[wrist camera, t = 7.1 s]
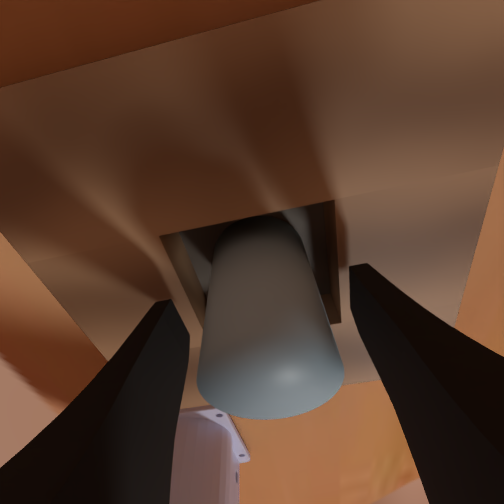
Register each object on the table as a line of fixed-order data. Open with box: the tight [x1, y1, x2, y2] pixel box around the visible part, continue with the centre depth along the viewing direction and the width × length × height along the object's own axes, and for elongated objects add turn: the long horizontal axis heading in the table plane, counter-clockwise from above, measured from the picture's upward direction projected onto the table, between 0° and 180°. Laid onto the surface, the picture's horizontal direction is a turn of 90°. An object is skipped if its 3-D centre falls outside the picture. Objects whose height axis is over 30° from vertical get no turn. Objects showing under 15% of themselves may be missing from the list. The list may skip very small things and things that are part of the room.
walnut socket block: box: [0, 0, 504, 409], centre depth 12 cm, size 16×16×2 cm
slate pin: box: [196, 216, 344, 420], centre depth 10 cm, size 4×4×6 cm
